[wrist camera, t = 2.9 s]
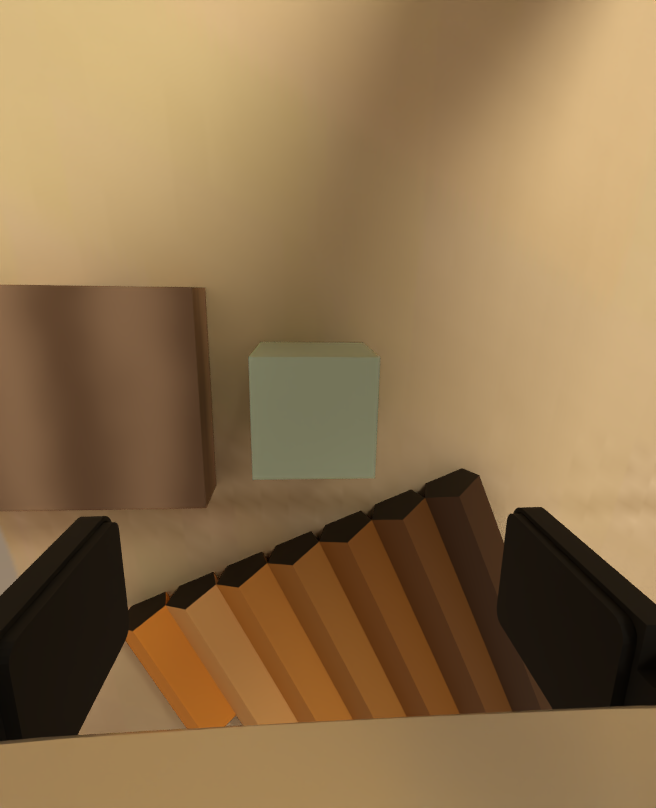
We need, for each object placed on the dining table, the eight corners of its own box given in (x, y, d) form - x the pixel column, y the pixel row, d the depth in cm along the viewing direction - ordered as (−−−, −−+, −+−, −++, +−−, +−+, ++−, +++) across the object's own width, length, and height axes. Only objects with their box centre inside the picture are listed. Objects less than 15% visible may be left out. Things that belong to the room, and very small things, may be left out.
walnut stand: (205, 287, 24) (191, 287, 21) (216, 484, 27) (206, 507, 24) (-19, 284, 23) (-65, 283, 21) (18, 487, 27) (-17, 511, 24)
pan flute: (563, 724, 35) (466, 462, 28) (590, 769, 32) (487, 484, 25) (281, 831, 36) (128, 603, 30) (279, 885, 33) (106, 642, 26)
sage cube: (362, 342, 26) (380, 357, 20) (359, 438, 27) (374, 478, 21) (260, 341, 25) (248, 356, 19) (263, 438, 27) (252, 479, 21)
